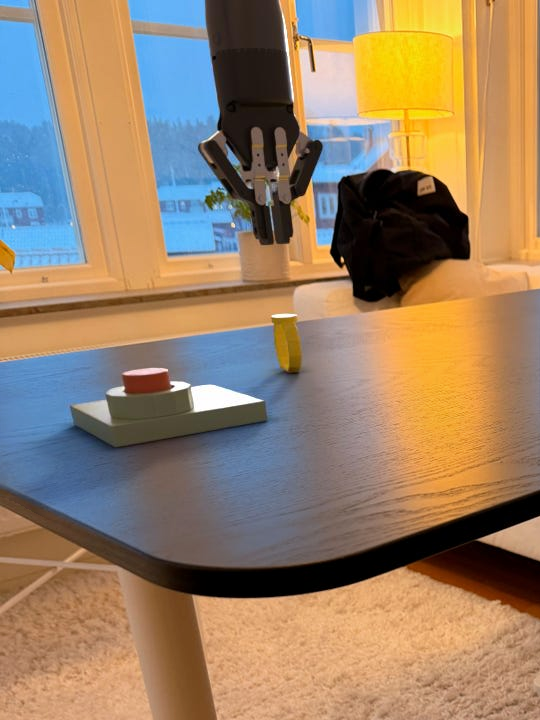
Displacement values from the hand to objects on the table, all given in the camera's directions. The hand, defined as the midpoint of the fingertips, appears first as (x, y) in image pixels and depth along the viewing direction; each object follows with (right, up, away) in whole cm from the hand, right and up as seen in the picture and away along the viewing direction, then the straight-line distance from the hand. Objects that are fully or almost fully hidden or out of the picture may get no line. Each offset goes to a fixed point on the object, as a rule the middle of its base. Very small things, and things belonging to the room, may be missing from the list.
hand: (274, 243), depth 94 cm
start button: (-5, -22, -21) cm, 31 cm away
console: (-5, -23, -17) cm, 29 cm away
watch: (0, -12, +6) cm, 13 cm away
